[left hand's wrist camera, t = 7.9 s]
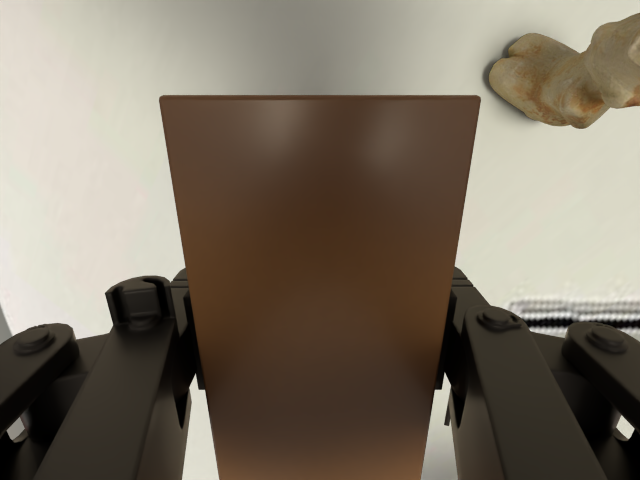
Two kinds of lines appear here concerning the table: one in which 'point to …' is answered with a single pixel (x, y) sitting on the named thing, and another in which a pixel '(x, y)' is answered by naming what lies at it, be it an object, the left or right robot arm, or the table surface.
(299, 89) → the table surface
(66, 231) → the table surface
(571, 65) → the sculpture
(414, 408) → the post
